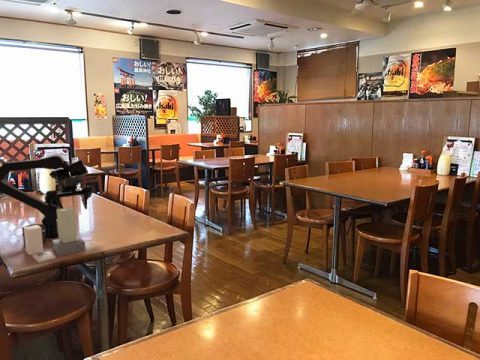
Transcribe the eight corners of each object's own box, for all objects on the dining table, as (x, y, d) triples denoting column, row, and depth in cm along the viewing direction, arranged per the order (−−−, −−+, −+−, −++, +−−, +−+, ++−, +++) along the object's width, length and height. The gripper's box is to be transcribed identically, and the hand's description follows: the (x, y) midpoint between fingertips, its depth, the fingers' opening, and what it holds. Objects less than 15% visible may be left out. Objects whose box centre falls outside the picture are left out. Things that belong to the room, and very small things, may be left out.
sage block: (59, 241, 152) (56, 209, 151) (71, 238, 156) (69, 207, 154) (64, 243, 149) (61, 210, 147) (76, 240, 153) (74, 208, 151)
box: (35, 245, 158) (34, 228, 156) (23, 244, 159) (21, 227, 158) (46, 240, 164) (44, 224, 162) (33, 239, 165) (32, 223, 164)
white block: (26, 251, 151) (23, 227, 149) (39, 248, 154) (37, 224, 152) (29, 255, 147) (27, 230, 145) (43, 252, 150) (41, 227, 149)
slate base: (52, 249, 154) (52, 240, 154) (78, 244, 160) (78, 235, 160) (58, 256, 146) (57, 247, 146) (85, 251, 152) (84, 242, 152)
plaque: (32, 256, 146) (32, 254, 145) (49, 252, 149) (49, 251, 149) (38, 262, 140) (38, 260, 140) (55, 258, 144) (55, 256, 143)
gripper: (44, 172, 155) (54, 203, 149) (90, 167, 168) (101, 196, 161) (40, 188, 163) (50, 218, 156) (84, 183, 175) (95, 211, 169)
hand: (75, 210), depth 160 cm, fingers open, 9 cm apart
